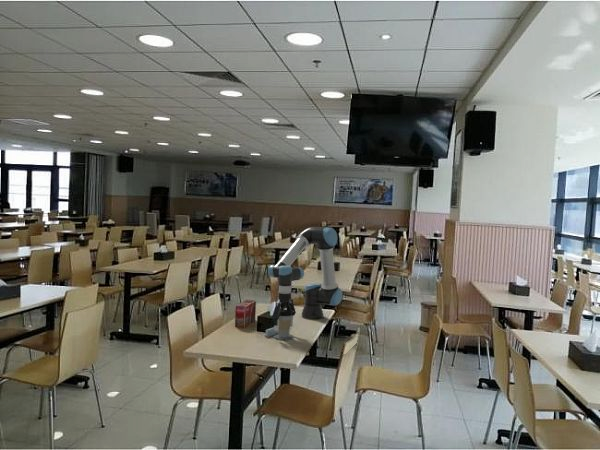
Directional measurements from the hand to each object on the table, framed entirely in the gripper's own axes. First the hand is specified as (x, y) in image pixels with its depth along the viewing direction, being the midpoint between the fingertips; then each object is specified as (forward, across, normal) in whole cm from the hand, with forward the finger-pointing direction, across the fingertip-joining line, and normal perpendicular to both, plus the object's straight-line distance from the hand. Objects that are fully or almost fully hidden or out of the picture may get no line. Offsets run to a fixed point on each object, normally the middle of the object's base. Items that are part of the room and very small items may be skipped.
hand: (283, 328), depth 274 cm
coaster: (+5, 0, 0) cm, 5 cm away
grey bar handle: (+5, -2, -8) cm, 10 cm away
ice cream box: (+5, -8, -37) cm, 38 cm away
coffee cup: (+5, 0, 0) cm, 5 cm away
